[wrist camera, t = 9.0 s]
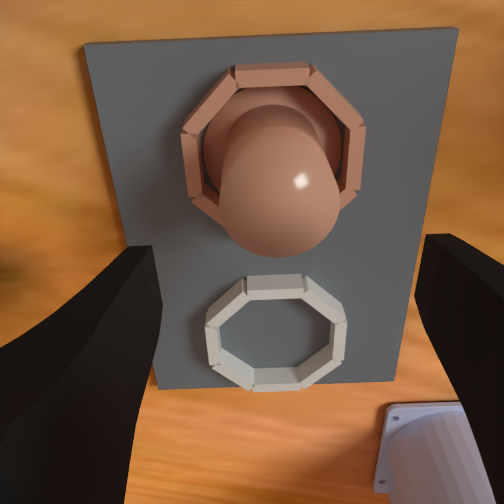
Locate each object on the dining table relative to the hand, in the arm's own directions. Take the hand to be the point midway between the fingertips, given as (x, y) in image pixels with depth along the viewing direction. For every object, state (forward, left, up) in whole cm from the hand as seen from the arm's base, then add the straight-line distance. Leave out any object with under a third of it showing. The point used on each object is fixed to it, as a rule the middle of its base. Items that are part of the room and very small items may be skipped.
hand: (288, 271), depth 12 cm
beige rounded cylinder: (0, 0, -8) cm, 9 cm away
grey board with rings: (-5, 0, -9) cm, 11 cm away
